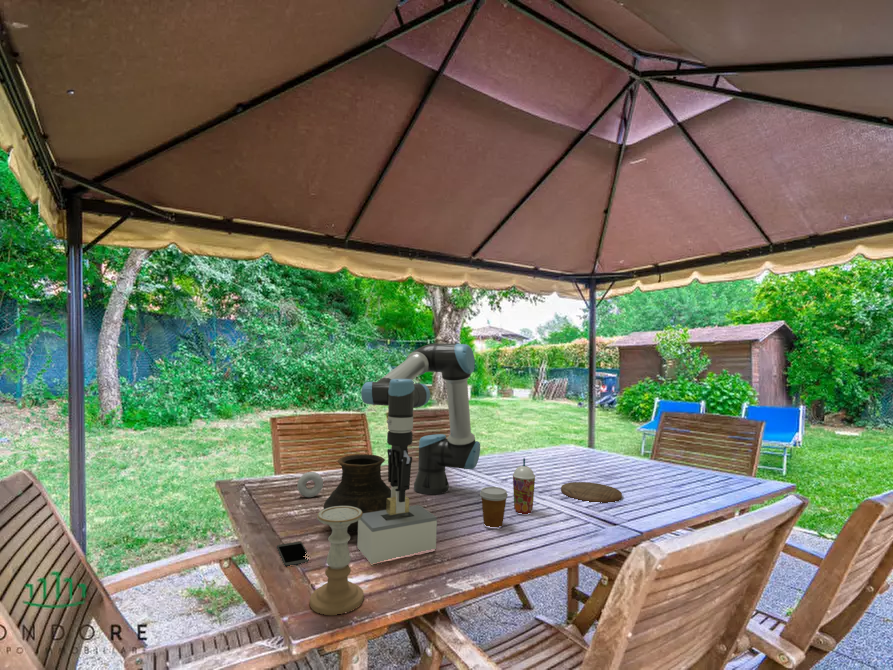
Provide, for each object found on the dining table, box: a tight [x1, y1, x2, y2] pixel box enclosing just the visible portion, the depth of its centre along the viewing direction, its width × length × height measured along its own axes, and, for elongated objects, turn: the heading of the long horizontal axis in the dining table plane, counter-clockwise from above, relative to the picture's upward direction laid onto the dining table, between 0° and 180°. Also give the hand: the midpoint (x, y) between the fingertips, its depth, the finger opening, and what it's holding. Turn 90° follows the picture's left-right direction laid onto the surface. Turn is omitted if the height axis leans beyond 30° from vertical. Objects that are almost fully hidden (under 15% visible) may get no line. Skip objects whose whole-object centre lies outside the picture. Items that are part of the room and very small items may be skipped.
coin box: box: [356, 504, 438, 564], centre depth 131 cm, size 20×12×10 cm, turn 119°
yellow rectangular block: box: [386, 495, 410, 515], centre depth 132 cm, size 6×3×4 cm, turn 120°
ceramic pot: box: [323, 453, 391, 533], centre depth 148 cm, size 24×24×22 cm
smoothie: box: [512, 457, 536, 514], centre depth 166 cm, size 8×8×20 cm
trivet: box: [560, 481, 623, 504], centre depth 192 cm, size 25×25×2 cm
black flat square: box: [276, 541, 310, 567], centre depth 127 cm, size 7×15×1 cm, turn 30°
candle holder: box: [309, 506, 365, 616], centre depth 104 cm, size 12×12×20 cm
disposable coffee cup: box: [479, 486, 509, 527], centre depth 152 cm, size 10×10×12 cm
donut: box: [296, 471, 324, 498], centre depth 178 cm, size 10×4×10 cm, turn 109°
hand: (397, 510), depth 132 cm, fingers closed on yellow rectangular block, 3 cm apart
